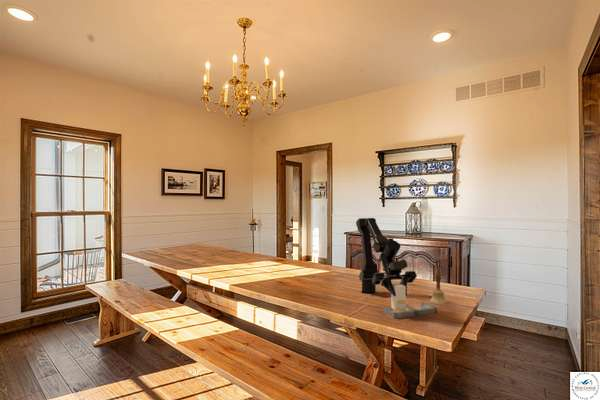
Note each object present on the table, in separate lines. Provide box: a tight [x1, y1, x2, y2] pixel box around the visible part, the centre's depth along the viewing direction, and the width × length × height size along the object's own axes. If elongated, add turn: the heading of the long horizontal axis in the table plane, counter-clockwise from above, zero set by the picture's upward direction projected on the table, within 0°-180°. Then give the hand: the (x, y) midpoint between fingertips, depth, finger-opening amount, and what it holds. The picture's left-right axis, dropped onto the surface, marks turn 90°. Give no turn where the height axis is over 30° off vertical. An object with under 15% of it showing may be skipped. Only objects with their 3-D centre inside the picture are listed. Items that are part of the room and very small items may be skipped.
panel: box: [382, 301, 438, 319], centre depth 135 cm, size 21×11×3 cm, turn 107°
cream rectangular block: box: [390, 283, 407, 311], centre depth 134 cm, size 4×4×10 cm
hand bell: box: [429, 268, 448, 304], centre depth 149 cm, size 8×8×16 cm
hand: (400, 295), depth 132 cm, fingers closed on cream rectangular block, 4 cm apart
